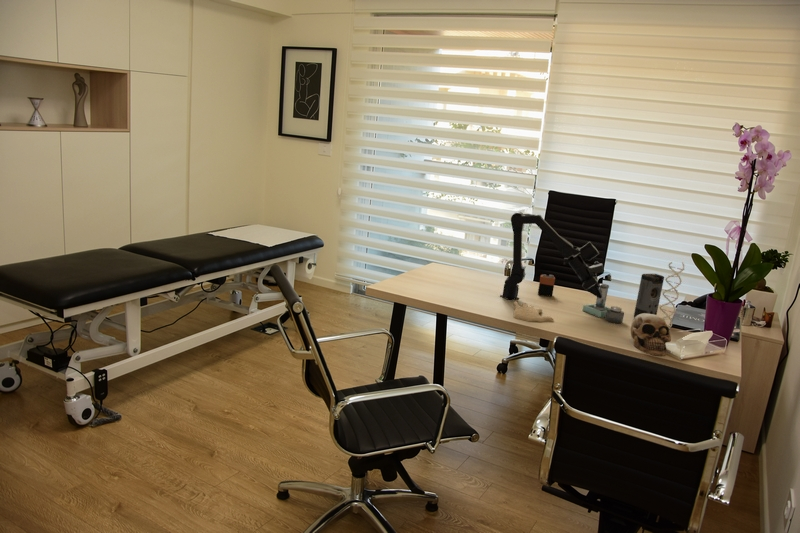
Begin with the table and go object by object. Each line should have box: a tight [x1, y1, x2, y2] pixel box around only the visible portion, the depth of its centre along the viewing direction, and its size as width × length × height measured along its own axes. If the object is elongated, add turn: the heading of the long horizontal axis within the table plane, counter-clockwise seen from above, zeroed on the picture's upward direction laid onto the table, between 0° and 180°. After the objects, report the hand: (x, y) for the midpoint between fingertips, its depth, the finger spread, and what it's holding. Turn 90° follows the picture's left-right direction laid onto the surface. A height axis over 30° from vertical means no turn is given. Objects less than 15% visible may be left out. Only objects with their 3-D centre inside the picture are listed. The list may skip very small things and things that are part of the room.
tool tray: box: [582, 303, 611, 318], centre depth 273 cm, size 10×10×3 cm
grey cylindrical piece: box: [594, 283, 610, 311], centre depth 271 cm, size 5×5×12 cm
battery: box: [537, 273, 556, 298], centre depth 295 cm, size 4×7×10 cm, turn 75°
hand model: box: [513, 300, 555, 323], centre depth 259 cm, size 19×5×20 cm
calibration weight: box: [604, 305, 625, 325], centre depth 262 cm, size 7×7×6 cm
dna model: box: [659, 261, 685, 330], centre depth 250 cm, size 7×6×30 cm
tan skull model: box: [630, 313, 672, 357], centre depth 233 cm, size 16×17×13 cm
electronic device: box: [633, 273, 665, 319], centre depth 270 cm, size 9×6×20 cm, turn 117°
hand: (600, 295), depth 271 cm, fingers open, 9 cm apart
